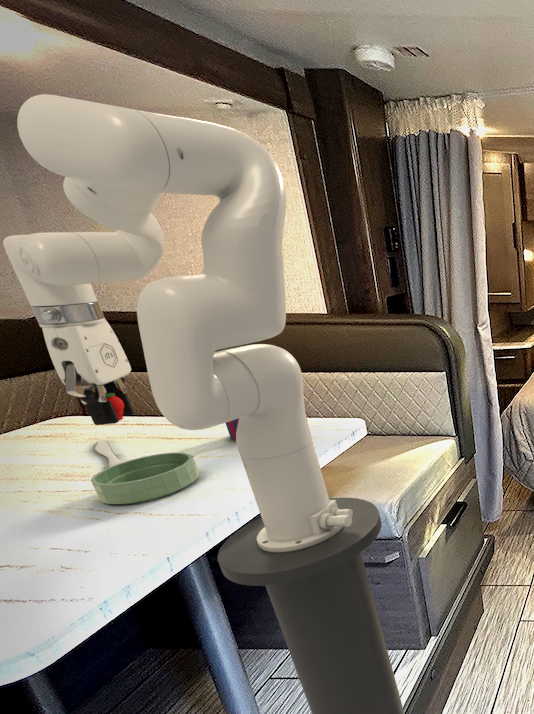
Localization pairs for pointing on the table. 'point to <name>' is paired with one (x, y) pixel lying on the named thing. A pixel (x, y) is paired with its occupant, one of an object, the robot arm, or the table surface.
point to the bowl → (145, 478)
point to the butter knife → (107, 452)
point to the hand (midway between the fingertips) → (114, 418)
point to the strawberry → (116, 404)
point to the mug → (232, 428)
